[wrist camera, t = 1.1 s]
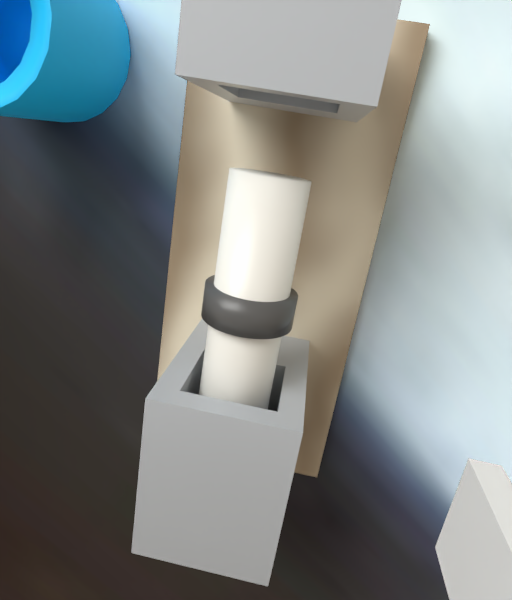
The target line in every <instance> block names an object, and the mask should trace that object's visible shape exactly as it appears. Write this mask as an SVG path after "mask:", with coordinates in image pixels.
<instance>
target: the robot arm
mask: <svg viewBox="0 0 512 600" xmlns="http://www.w3.org/2000/svg"><path fill="white" fill-rule="evenodd" d="M435 548H436V552H437V556H438V560H439V563H440V567H441V571H442V574H443V578H444V582H445V585H446V589H447V593H448V596H449V600H512V483H511V481H510V479H509V478H508V476H507V474H506V472H505V470H504V469H503V467H502V466H501V465H496V464H492V463H487V462H483V461H478V460H474V459H469V458H468V461H467V464H466V466H465V469H464V472H463V474H462V477H461V480H460V482H459V485H458V488H457V490H456V493H455V496H454V498H453V501H452V504H451V506H450V509H449V512H448V514H447V517H446V520H445V522H444V525H443V528H442V530H441V533H440V536H439V538H438V541H437V544H436V546H435Z"/></svg>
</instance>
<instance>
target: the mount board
mask: <svg viewBox="0 0 512 600" xmlns="http://www.w3.org/2000/svg"><path fill="white" fill-rule="evenodd" d="M429 25H430V24H425V23H418V22H411V21H404V20H397V22H396V27H395V31H394V36H393V40H392V44H391V49H390V53H389V58H388V62H387V66H386V71H385V75H384V79H383V84H382V88H381V93H380V97H379V101H378V106H377V107H376V108H375V109H374V110H372V111H371V112H370V113H368V114H367V115H366V116H364V117H363V118H362V119H361V120H359V121H358V122H351V121H345V120H339V119H333V118H327V117H321V116H315V115H309V114H302V113H296V112H290V111H284V110H278V109H272V108H266V107H260V106H253V105H247V104H241V103H235V102H230V101H228V100H226V99H224V98H221V97H219V96H217V95H215V94H213V93H211V92H209V91H207V90H205V89H203V88H201V87H199V86H197V85H195V84H193V83H191V82H189V81H187V88H186V98H185V108H184V118H183V128H182V138H181V149H180V159H179V169H178V179H177V189H176V199H175V209H174V219H173V229H172V239H171V249H170V259H169V269H168V279H167V289H166V299H165V310H164V320H163V330H162V340H161V350H160V360H159V370H158V380H159V379H160V377H161V376H162V374H163V373H164V372H165V370H166V369H167V367H168V366H169V365H170V363H171V362H172V360H173V359H174V357H175V356H176V355H177V353H178V352H179V350H180V349H181V348H182V346H183V345H184V343H185V342H186V341H187V339H188V338H189V336H190V335H191V334H192V332H193V331H194V329H195V328H196V326H197V325H198V324H199V322H200V321H201V319H202V317H201V311H202V303H203V296H204V288H205V281H206V279H207V278H208V277H210V276H213V275H215V271H216V263H217V256H218V248H219V241H220V233H221V226H222V219H223V211H224V204H225V196H226V189H227V181H228V174H229V168H246V169H254V170H261V171H267V172H273V173H279V174H284V175H289V176H294V177H299V178H303V179H306V180H309V181H311V182H312V183H311V188H310V193H309V199H308V204H307V209H306V214H305V219H304V224H303V230H302V235H301V240H300V245H299V250H298V255H297V260H296V266H295V271H294V276H293V281H292V286H291V288H293V289H294V290H295V291H296V292H297V294H298V300H297V305H296V310H295V315H294V320H293V325H292V329H291V331H290V332H289V333H288V334H287V335H285V336H289V337H293V338H298V339H303V340H308V341H309V355H308V370H307V384H306V398H305V412H304V426H303V435H302V440H301V444H300V448H299V453H298V457H297V462H296V466H295V470H294V472H295V473H300V474H304V475H308V476H313V477H317V475H318V471H319V467H320V463H321V459H322V455H323V451H324V447H325V443H326V439H327V435H328V431H329V427H330V423H331V419H332V415H333V411H334V407H335V403H336V399H337V395H338V391H339V387H340V383H341V379H342V375H343V371H344V367H345V363H346V359H347V355H348V351H349V347H350V343H351V339H352V335H353V331H354V327H355V323H356V319H357V315H358V311H359V307H360V303H361V299H362V295H363V291H364V287H365V283H366V278H367V274H368V270H369V266H370V262H371V258H372V254H373V250H374V246H375V242H376V238H377V234H378V230H379V226H380V222H381V218H382V214H383V210H384V206H385V202H386V198H387V194H388V190H389V186H390V182H391V178H392V174H393V170H394V166H395V162H396V158H397V154H398V150H399V146H400V142H401V138H402V134H403V130H404V126H405V122H406V118H407V114H408V110H409V106H410V102H411V98H412V94H413V90H414V86H415V82H416V78H417V74H418V70H419V66H420V62H421V58H422V54H423V50H424V46H425V42H426V38H427V34H428V29H429ZM158 380H157V381H158Z"/></svg>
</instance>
